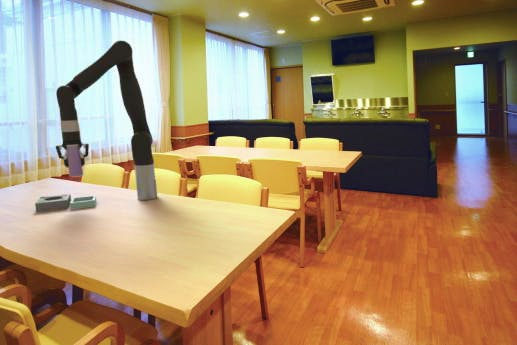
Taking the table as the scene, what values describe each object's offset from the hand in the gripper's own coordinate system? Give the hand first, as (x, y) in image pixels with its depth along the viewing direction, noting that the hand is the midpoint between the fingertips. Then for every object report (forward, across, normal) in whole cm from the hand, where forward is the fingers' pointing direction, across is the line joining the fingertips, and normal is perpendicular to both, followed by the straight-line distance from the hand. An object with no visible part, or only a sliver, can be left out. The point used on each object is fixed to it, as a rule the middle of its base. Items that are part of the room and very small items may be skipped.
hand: (75, 166), depth 170 cm
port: (+19, +11, -4) cm, 22 cm away
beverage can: (+5, 0, 0) cm, 5 cm away
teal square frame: (+19, -2, 0) cm, 19 cm away
